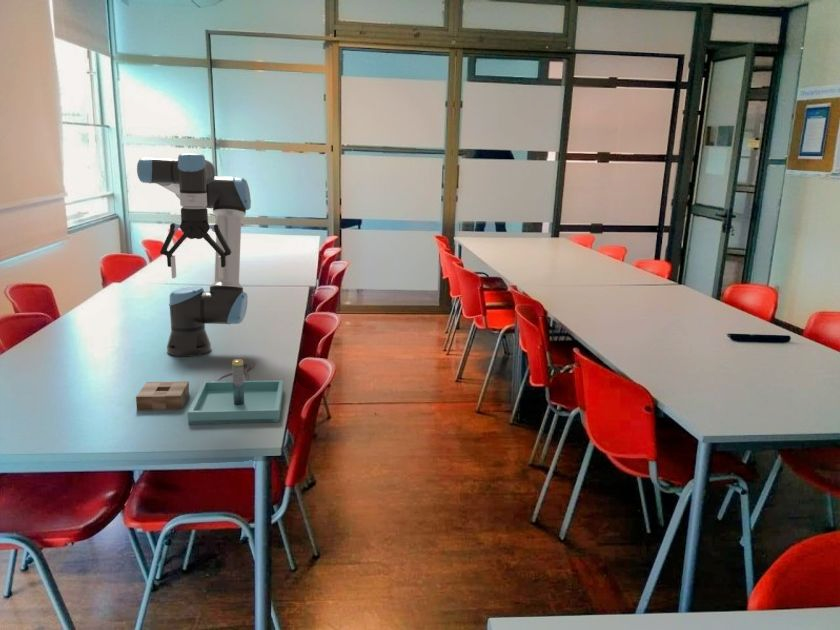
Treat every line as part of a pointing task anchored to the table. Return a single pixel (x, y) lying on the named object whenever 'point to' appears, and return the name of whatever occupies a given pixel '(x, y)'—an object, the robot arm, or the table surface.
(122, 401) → the table surface
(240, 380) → the pin
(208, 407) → the tray
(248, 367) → the pliers
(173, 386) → the pin block
